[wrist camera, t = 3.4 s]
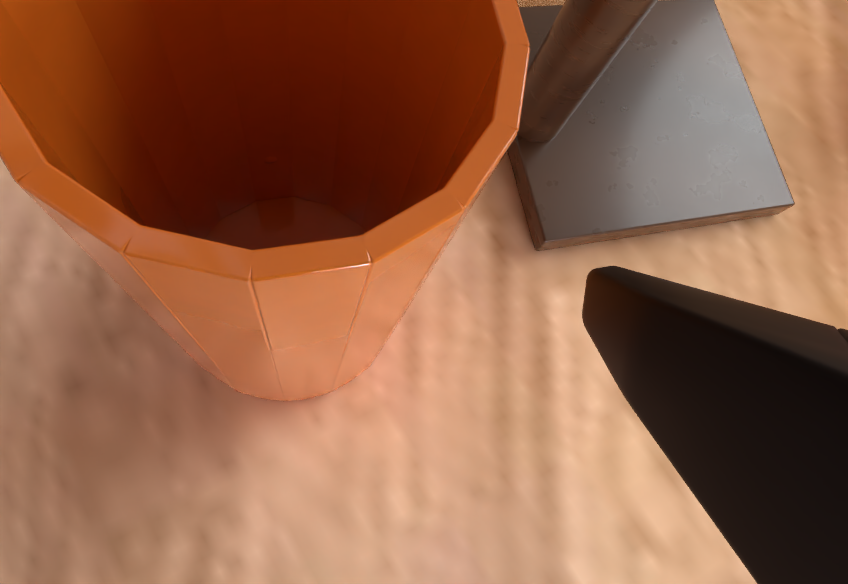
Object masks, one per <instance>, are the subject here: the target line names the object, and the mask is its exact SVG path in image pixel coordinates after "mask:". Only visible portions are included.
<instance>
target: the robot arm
mask: <svg viewBox="0 0 848 584" xmlns="http://www.w3.org/2000/svg"><path fill="white" fill-rule="evenodd" d="M582 318H583V323H584V326H585V328H586V330H587V332H588V333H589V335H590V337H591V339H592V341H593V342H594V344H595V346H596V348H597V349H598V351H599V353H600V355H601V357H602V358H603V360H604V362H605V364H606V366H607V367H608V369H609V371H610V373H611V374H612V376H613V378H614V380H615V382H616V383H617V385H618V387H619V388H620V390H621V392H622V393H623V395H624V397H625V398H626V400H627V401H628V403H629V404H630V406H631V407H632V409H633V410H634V412H635V413H636V414H637V416H638V417H639V419H640V420H641V421H642V423H643V424H644V426H645V427H646V428H647V430H648V431H649V432H650V434H651V435H652V437H653V438H654V439H655V441H656V442H657V444H658V445H659V446H660V448H661V449H662V451H663V452H664V453H665V455H666V456H667V458H668V459H669V460H670V462H671V463H672V465H673V466H674V467H675V469H676V470H677V472H678V473H679V474H680V476H681V477H682V479H683V480H684V481H685V483H686V484H687V486H688V487H689V488H690V490H691V491H692V493H693V494H694V495H695V497H696V498H697V500H698V501H699V502H700V504H701V505H702V507H703V508H704V509H705V511H706V512H707V514H708V515H709V516H710V518H711V519H712V521H713V522H714V523H715V525H716V526H717V528H718V529H719V530H720V532H721V533H722V535H723V536H724V537H725V539H726V540H727V542H728V543H729V544H730V546H731V547H732V549H733V550H734V551H735V553H736V554H737V556H738V557H739V558H740V560H741V561H742V563H743V564H744V565H745V567H746V568H747V570H748V571H749V572H750V574H751V575H752V577H753V578H754V579H755V581H756V582H757V584H848V330H845V329H838V330H837V329H836V328H835V327H834V326H830V325H827V324H823V323H820V322H816V321H812V320H809V319H805V318H802V317H798V316H794V315H791V314H787V313H783V312H780V311H776V310H773V309H769V308H765V307H762V306H758V305H755V304H751V303H747V302H744V301H740V300H736V299H733V298H729V297H726V296H722V295H718V294H715V293H711V292H708V291H704V290H700V289H697V288H693V287H690V286H686V285H682V284H679V283H675V282H671V281H668V280H664V279H661V278H657V277H653V276H650V275H646V274H643V273H639V272H635V271H632V270H628V269H625V268H621V267H617V266H608V267H602V268H596V269H593V270H592V271H590V272H589V274H588V276H587V280H586V288H585V295H584V303H583V310H582Z"/></svg>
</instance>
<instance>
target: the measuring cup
mask: <svg viewBox="0 0 848 584" xmlns="http://www.w3.org/2000/svg"><path fill="white" fill-rule="evenodd" d="M529 46H530V43H529V40H528V37H527V33H526V30H525V27H524V23H523V20H522V17H521V14H520V10H519V7H518V4H517V0H0V157H1V159H2V161H3V162H4V164H5V166H6V167H7V169H8V171H9V172H10V174H11V176H12V177H13V179H14V181H15V182H16V183H17V184H18V185H19V186H20V187H21V188H22V189H23V190H24V191H25V192H26V193H27V194H28V195H29V196H30V197H31V198H32V199H33V200H34V201H35V202H36V203H37V204H38V205H39V206H40V207H41V208H42V209H43V210H44V211H45V212H46V213H47V214H48V215H49V216H50V217H51V218H52V219H53V220H54V221H55V222H56V223H57V224H58V225H59V226H60V227H61V228H62V229H63V230H64V231H65V232H66V233H67V234H68V235H69V236H70V237H71V238H72V239H73V240H74V241H75V242H76V243H77V244H78V245H79V246H80V247H81V248H82V249H83V250H84V251H85V252H86V253H87V254H88V255H89V256H90V257H91V258H92V259H93V260H94V261H95V262H96V263H97V264H98V265H99V266H100V267H101V268H102V269H103V270H104V271H105V272H106V273H107V274H108V275H109V276H110V277H111V278H112V279H113V280H114V281H115V282H116V283H117V284H118V285H119V286H120V287H121V288H122V289H123V290H124V291H126V292H127V293H128V294H129V295H130V296H131V297H132V298H133V299H134V300H135V301H136V302H137V303H138V304H139V305H140V306H141V307H142V308H143V309H144V310H145V311H146V312H147V313H148V314H149V315H150V316H151V317H152V318H153V319H154V320H155V321H156V322H157V323H158V324H159V325H160V326H161V327H162V328H163V329H164V330H165V331H166V332H167V333H168V334H169V335H170V336H171V337H172V338H173V339H174V340H175V341H176V342H177V343H178V344H179V345H180V346H181V347H182V348H183V349H184V350H185V351H186V352H187V353H188V354H189V355H190V356H191V357H192V358H193V359H194V360H195V361H196V362H197V363H198V364H199V365H200V366H201V367H202V368H203V369H205V370H206V371H208V372H209V373H211V374H212V375H214V376H215V377H216V378H218V379H219V380H220V381H221V382H223V383H225V384H227V385H228V386H230V387H232V388H233V389H235V390H236V391H239V392H240V393H245V394H248V395H251V396H255V397H259V398H263V399H270V400H278V401H292V400H301V399H308V398H312V397H316V396H320V395H323V394H326V393H330V392H332V391H334V390H335V389H337V388H339V387H341V386H343V385H345V384H346V383H348V382H350V381H351V380H352V379H354V378H355V377H356V376H358V375H359V374H360V373H361V372H363V371H364V370H366V369H367V368H368V367H369V366H370V365H371V364H372V362H373V361H374V359H375V358H376V356H377V355H378V353H379V352H380V350H381V349H382V347H383V346H384V344H385V343H386V342H387V340H388V339H389V337H390V336H391V334H392V333H393V331H394V329H395V328H396V326H397V325H398V323H399V322H400V320H401V318H402V317H403V315H404V314H405V312H406V310H407V309H408V307H409V306H410V304H411V302H412V301H413V299H414V298H415V296H416V295H417V293H418V291H419V290H420V288H421V287H422V285H423V283H424V282H425V280H426V279H427V277H428V276H429V274H430V272H431V271H432V269H433V268H434V266H435V264H436V263H437V261H438V260H439V258H440V256H441V255H442V253H443V252H444V250H445V249H446V247H447V245H448V244H449V242H450V241H451V239H452V237H453V236H454V234H455V233H456V231H457V229H458V228H459V226H460V225H461V223H462V222H463V220H464V218H465V217H466V215H467V214H468V212H469V210H470V209H471V207H472V206H473V204H474V202H475V201H476V199H477V198H478V196H479V195H480V193H481V191H482V190H483V188H484V187H485V185H486V183H487V182H488V180H489V179H490V177H491V176H492V174H493V172H494V171H495V169H496V168H497V166H498V164H499V163H500V161H501V160H502V158H503V156H504V155H505V153H506V152H507V150H508V149H509V147H510V145H511V144H512V142H513V141H514V139H515V137H516V136H517V132H518V130H519V126H520V119H521V111H522V104H523V97H524V90H525V83H526V76H527V69H528V62H529V55H530V47H529Z"/></svg>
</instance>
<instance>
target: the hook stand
mask: <svg viewBox="0 0 848 584" xmlns="http://www.w3.org/2000/svg"><path fill="white" fill-rule="evenodd" d="M519 10H520V14H521V17H522V20H523V23H524V27H525V30H526V33H527V37H528V40H529V43H530V46H529V47H530V55H529V62H528V69H527V76H526V83H525V90H524V97H523V104H522V111H521V119H520V126H519V130H518V132H517V136H516V137H515V139H514V141H513V142H512V144H511V145H510V147H509V149H508V153H509V157H510V160H511V164H512V167H513V171H514V175H515V178H516V182H517V185H518V189H519V193H520V196H521V200H522V203H523V207H524V211H525V214H526V218H527V222H528V225H529V229H530V232H531V236H532V240H533V243H534V247H535V250H536V251H540V250H547V249H553V248H560V247H566V246H573V245H579V244H586V243H592V242H599V241H606V240H612V239H619V238H625V237H632V236H638V235H645V234H651V233H658V232H664V231H671V230H677V229H684V228H690V227H697V226H703V225H710V224H716V223H723V222H729V221H736V220H743V219H749V218H756V217H762V216H769V215H775V214H779V213H781V212H782V211H784V210H786V209H788V208H790V207H792V206H793V205H794V201H793V198H792V196H791V193H790V190H789V188H788V185H787V183H786V180H785V178H784V175H783V173H782V170H781V168H780V165H779V163H778V160H777V158H776V155H775V153H774V150H773V148H772V145H771V143H770V140H769V138H768V135H767V133H766V130H765V128H764V125H763V123H762V120H761V117H760V115H759V112H758V110H757V107H756V105H755V102H754V100H753V97H752V95H751V92H750V90H749V87H748V85H747V82H746V80H745V77H744V75H743V72H742V70H741V67H740V65H739V62H738V60H737V57H736V55H735V52H734V50H733V47H732V44H731V42H730V39H729V37H728V34H727V32H726V29H725V27H724V24H723V22H722V19H721V17H720V14H719V12H718V9H717V7H716V4H715V2H714V0H659V1H658V0H566V1H565V3H564V5H555V6H534V7H519Z"/></svg>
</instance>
